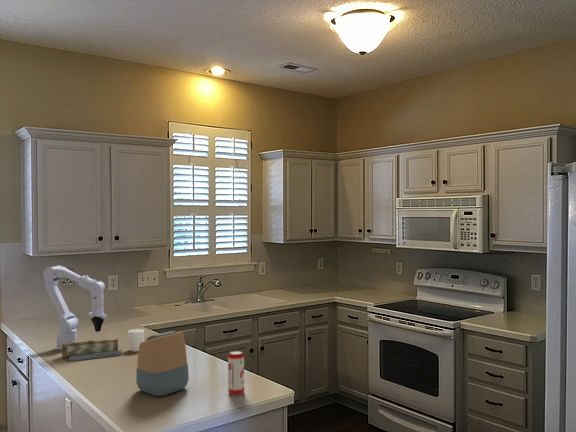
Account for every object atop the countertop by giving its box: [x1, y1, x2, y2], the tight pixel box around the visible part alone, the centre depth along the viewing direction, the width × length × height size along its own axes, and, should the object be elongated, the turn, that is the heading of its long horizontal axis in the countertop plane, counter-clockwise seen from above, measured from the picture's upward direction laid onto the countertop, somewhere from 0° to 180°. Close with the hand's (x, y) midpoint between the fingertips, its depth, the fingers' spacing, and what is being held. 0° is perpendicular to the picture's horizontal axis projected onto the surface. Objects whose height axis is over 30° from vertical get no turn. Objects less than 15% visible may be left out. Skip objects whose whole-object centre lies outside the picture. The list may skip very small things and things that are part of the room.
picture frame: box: [61, 338, 119, 358], centre depth 263 cm, size 26×3×6 cm, turn 113°
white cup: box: [127, 328, 145, 352], centre depth 270 cm, size 8×8×10 cm
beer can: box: [227, 350, 245, 396], centre depth 206 cm, size 6×6×16 cm
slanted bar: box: [68, 349, 123, 362], centre depth 257 cm, size 24×3×2 cm, turn 114°
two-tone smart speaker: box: [135, 330, 189, 398], centre depth 210 cm, size 17×17×23 cm
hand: (98, 331), depth 272 cm, fingers closed
